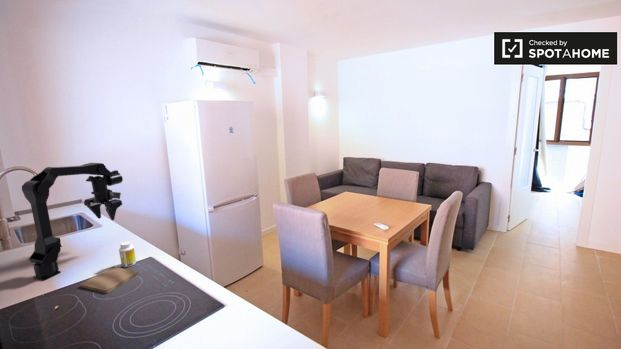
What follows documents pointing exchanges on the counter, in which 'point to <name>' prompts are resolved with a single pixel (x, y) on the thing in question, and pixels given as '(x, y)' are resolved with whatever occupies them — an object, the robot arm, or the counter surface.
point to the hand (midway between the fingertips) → (106, 219)
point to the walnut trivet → (109, 279)
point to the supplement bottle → (127, 254)
